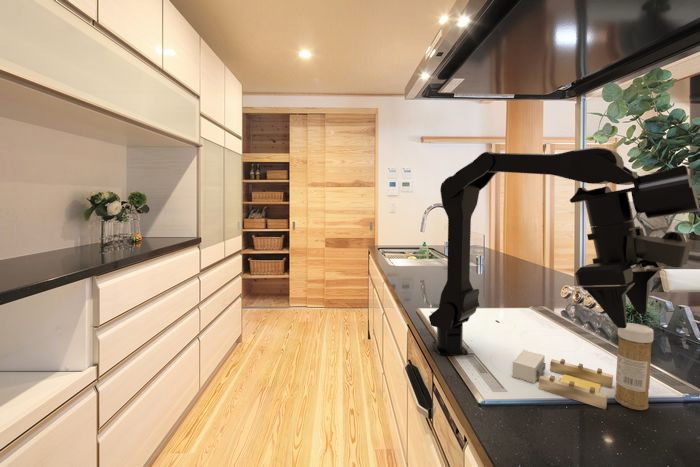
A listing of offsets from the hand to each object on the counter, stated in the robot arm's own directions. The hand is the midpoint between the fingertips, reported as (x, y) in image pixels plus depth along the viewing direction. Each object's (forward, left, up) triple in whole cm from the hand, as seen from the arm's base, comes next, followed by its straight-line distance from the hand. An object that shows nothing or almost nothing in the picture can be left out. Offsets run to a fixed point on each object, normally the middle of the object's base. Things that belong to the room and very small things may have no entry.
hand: (632, 320), depth 55 cm
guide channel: (-8, -3, -15) cm, 17 cm away
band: (-7, -3, -15) cm, 17 cm away
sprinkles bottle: (-2, +2, -15) cm, 16 cm away
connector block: (-13, -9, -15) cm, 22 cm away
